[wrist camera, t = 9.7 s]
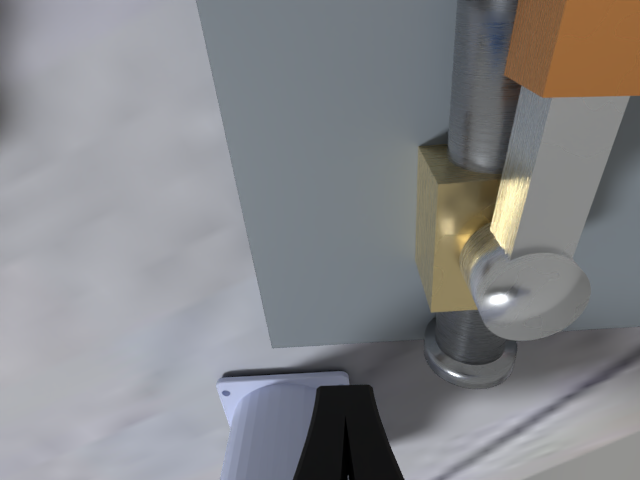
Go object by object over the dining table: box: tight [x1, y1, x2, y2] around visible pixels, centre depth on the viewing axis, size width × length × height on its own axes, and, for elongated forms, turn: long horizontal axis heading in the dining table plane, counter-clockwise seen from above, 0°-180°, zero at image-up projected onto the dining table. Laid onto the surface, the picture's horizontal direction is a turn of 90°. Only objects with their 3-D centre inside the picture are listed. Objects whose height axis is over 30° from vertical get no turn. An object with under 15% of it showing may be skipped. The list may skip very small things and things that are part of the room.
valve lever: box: [459, 0, 640, 341], centre depth 12 cm, size 12×3×2 cm, turn 1°
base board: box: [196, 0, 640, 348], centre depth 18 cm, size 18×20×1 cm
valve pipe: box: [415, 0, 522, 389], centre depth 17 cm, size 18×5×4 cm, turn 5°
